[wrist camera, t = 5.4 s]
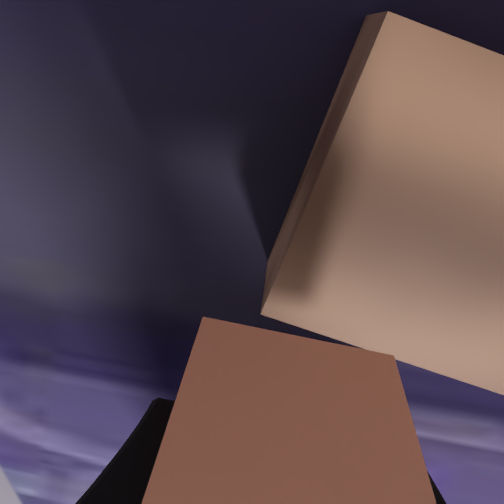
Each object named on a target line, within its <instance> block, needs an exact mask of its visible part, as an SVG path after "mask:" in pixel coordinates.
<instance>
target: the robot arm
mask: <svg viewBox="0 0 504 504" xmlns="http://www.w3.org/2000/svg"><path fill="white" fill-rule="evenodd" d="M174 403H175V401H172V400H167V399H162V398H157V399H155V400H153V401H152V403H151V404H150V406H149V408H148V410H147V411H146V413H145V414H144V416H143V417H142V419H141V421H140V422H139V424H138V425H137V426H136V428H135V429H134V431H133V432H132V434H131V435H130V436H129V438H128V439H127V440H126V442H125V443H124V445H123V446H122V447H121V449H120V450H119V451H118V453H117V454H116V455H115V456H114V458H113V459H112V460H111V461H110V463H109V464H108V465H107V466H106V468H105V469H104V470H103V471H102V473H101V474H100V475H99V476H98V478H97V479H96V480H95V481H94V483H93V484H92V485H91V486H90V487H89V489H88V490H87V491H86V492H85V493H84V494H83V496H82V497H81V498H80V499H79V500H78V501H77V502H76V504H142V501H143V498H144V495H145V492H146V489H147V486H148V483H149V479H150V476H151V473H152V470H153V467H154V464H155V461H156V458H157V455H158V452H159V449H160V446H161V443H162V440H163V437H164V434H165V431H166V427H167V424H168V421H169V418H170V415H171V412H172V409H173V406H174ZM427 472H428V471H427ZM428 476H429V479H430V483H431V486H432V490H433V493H434V497H435V500H436V504H446V502H445V500H444V499H443V497H442V495H441V494H440V492H439V490H438V488H437V487H436V485H435V483H434V482H433V480H432V478H431V476H430V475H429V473H428Z"/></svg>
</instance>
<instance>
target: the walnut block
mask: <svg viewBox="0 0 504 504" xmlns="http://www.w3.org/2000/svg"><path fill="white" fill-rule="evenodd" d="M261 315H264V316H267V317H270V318H273V319H276V320H279V321H282V322H285V323H288V324H291V325H294V326H297V327H300V328H303V329H306V330H309V331H312V332H315V333H318V334H321V335H324V336H327V337H330V338H333V339H336V340H339V341H342V342H345V343H348V344H351V345H354V346H357V347H360V348H363V349H366V350H370V351H375V352H380V353H384V354H389V355H394V358H395V359H396V360H400V361H403V362H406V363H409V364H412V365H415V366H418V367H421V368H424V369H427V370H430V371H433V372H436V373H439V374H442V375H445V376H448V377H451V378H454V379H457V380H460V381H463V382H466V383H469V384H472V385H475V386H478V387H481V388H484V389H487V390H490V391H493V392H496V393H499V394H502V395H504V55H501V54H499V53H496V52H493V51H491V50H488V49H486V48H483V47H480V46H478V45H475V44H473V43H470V42H467V41H465V40H462V39H460V38H457V37H454V36H452V35H449V34H447V33H444V32H441V31H439V30H436V29H434V28H431V27H428V26H426V25H423V24H421V23H418V22H415V21H413V20H410V19H408V18H405V17H402V16H400V15H397V14H395V13H392V12H389V11H385V12H380V13H375V14H370V15H366V17H365V20H364V22H363V25H362V27H361V30H360V32H359V35H358V37H357V40H356V42H355V45H354V47H353V50H352V52H351V55H350V57H349V60H348V62H347V65H346V67H345V69H344V72H343V74H342V77H341V79H340V82H339V84H338V87H337V89H336V92H335V94H334V97H333V99H332V102H331V104H330V107H329V109H328V112H327V114H326V117H325V119H324V122H323V124H322V127H321V129H320V132H319V134H318V137H317V139H316V142H315V144H314V147H313V149H312V152H311V154H310V157H309V159H308V162H307V164H306V167H305V169H304V172H303V174H302V177H301V179H300V182H299V184H298V187H297V189H296V192H295V194H294V197H293V199H292V202H291V204H290V207H289V209H288V212H287V214H286V217H285V219H284V222H283V224H282V227H281V229H280V231H279V234H278V236H277V239H276V241H275V244H274V246H273V249H272V251H271V254H270V256H269V259H268V263H267V270H266V278H265V285H264V292H263V300H262V307H261Z"/></svg>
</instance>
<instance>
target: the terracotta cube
mask: <svg viewBox="0 0 504 504" xmlns="http://www.w3.org/2000/svg"><path fill="white" fill-rule="evenodd" d="M142 504H436V500H435V497H434V493H433V490H432V486H431V483H430V479H429V476H428V472H427V469H426V465H425V462H424V458H423V455H422V452H421V448H420V445H419V441H418V438H417V434H416V431H415V427H414V424H413V420H412V417H411V413H410V410H409V406H408V403H407V399H406V396H405V393H404V389H403V386H402V382H401V379H400V375H399V372H398V368H397V365H396V361H395V358H394V355H389V354H384V353H380V352H375V351H370V350H365V349H360V348H355V347H350V346H345V345H340V344H335V343H330V342H326V341H321V340H316V339H311V338H306V337H301V336H296V335H291V334H286V333H281V332H276V331H272V330H267V329H262V328H257V327H252V326H247V325H242V324H237V323H232V322H227V321H222V320H218V319H213V318H208V317H202V320H201V323H200V327H199V330H198V333H197V336H196V339H195V342H194V345H193V348H192V351H191V354H190V357H189V360H188V363H187V366H186V369H185V372H184V375H183V379H182V382H181V385H180V388H179V391H178V394H177V397H176V400H175V403H174V406H173V409H172V412H171V415H170V418H169V421H168V424H167V427H166V431H165V434H164V437H163V440H162V443H161V446H160V449H159V452H158V455H157V458H156V461H155V464H154V467H153V470H152V473H151V476H150V479H149V483H148V486H147V489H146V492H145V495H144V498H143V501H142Z"/></svg>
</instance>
